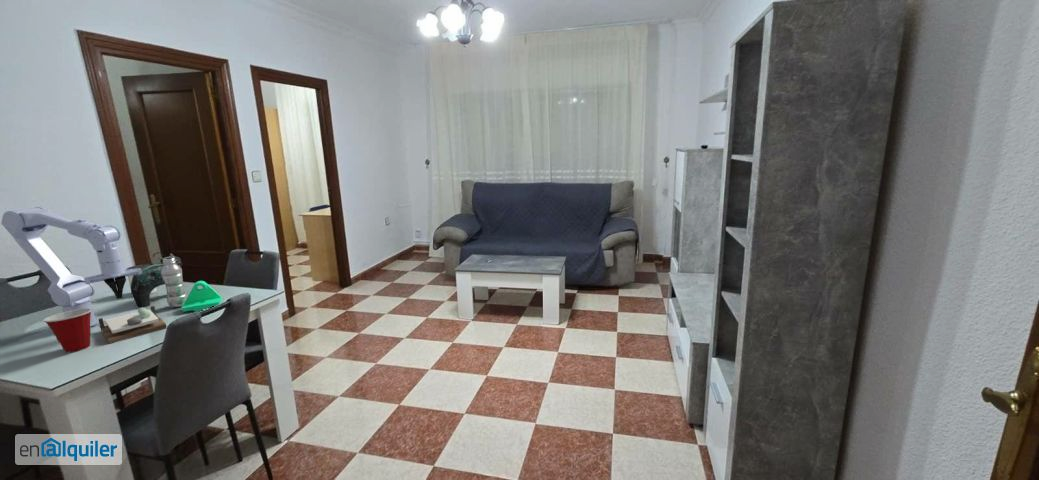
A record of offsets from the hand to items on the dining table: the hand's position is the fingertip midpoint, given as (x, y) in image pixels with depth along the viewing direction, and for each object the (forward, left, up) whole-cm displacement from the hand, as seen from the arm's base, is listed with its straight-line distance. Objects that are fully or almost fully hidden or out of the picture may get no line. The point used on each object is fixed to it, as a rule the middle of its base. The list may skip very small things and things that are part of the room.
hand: (119, 297), depth 149 cm
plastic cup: (+11, -13, -11) cm, 20 cm away
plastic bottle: (-7, +17, -11) cm, 21 cm away
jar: (-39, +12, -11) cm, 42 cm away
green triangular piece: (+3, +22, -11) cm, 25 cm away
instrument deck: (+7, +1, -7) cm, 11 cm away
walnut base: (+8, +1, -10) cm, 13 cm away
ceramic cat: (-22, +15, -11) cm, 29 cm away
